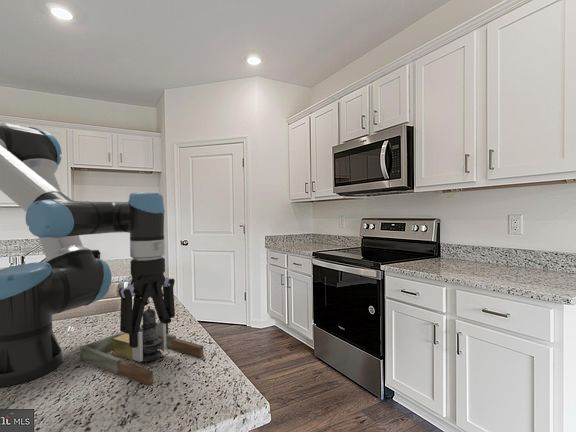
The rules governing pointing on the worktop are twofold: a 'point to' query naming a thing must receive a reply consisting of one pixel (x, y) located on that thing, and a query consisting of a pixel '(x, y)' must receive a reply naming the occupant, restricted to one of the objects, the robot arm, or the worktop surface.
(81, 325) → the worktop surface
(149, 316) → the salt shaker
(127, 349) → the tan wooden cube
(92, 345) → the frame
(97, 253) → the coffee cup
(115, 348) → the chip
